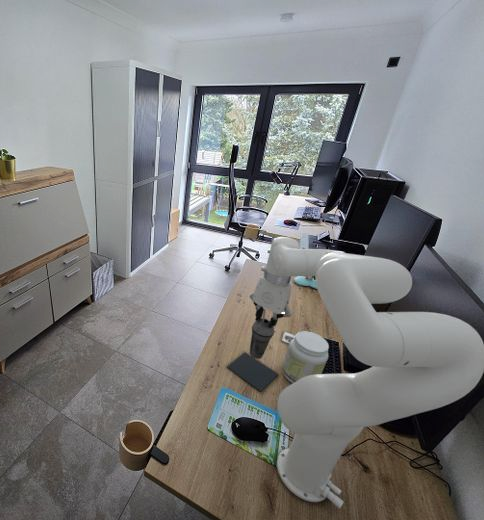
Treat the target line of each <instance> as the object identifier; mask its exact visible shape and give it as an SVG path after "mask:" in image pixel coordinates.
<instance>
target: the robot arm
mask: <svg viewBox="0 0 484 520" xmlns="http://www.w3.org/2000/svg"><path fill="white" fill-rule="evenodd" d="M300 246H301V245H300V242H299V241H297V239H294V238H292V237H289V236H288V237H286V236H278V237H275V238H274V239H273V240H272V241H271V244H270V250H269V254H268V258H267V261H266V266H261V269H260V271H262V272H263V274H261V275H260V277H259V279H258V281H257V284H256V286H255V289H254V292H253V293H252V294H250V295H249V298H250V300H251V301H252V304H253V305H254V307H255V310H256V311H255V316H254V317H255V319H254V320H255V321H258V320H259V319H261V318H263V312H264V309H265V310H268V311H270V312H272V317H271V318H270V320H269V321H270V323H269V326H268V327H269V328H271V327H273V326H274V327H276V326H277V324H278V321H279V319H282V318H290V317H291V316H292V312H291V309H290V307H289V305H290V301H291V295H292V283H291V279H292V277H297V276H303V277H306V276H315V278H316V285H317V289H316V290H317V292H318V295H319V297H320V300H321V301H322V303H323V305H324V307H325V309H326V312H327V313H328V315H329V317H330V319H331V321H332V322H333V324H334V327H335V328H336V330H337V333H338V334H339V336H340V338H341V340H342V342H343V344H344V346H345V347H346V348H347V350H348V351H349V353H350V354H351V355H352V357H353V358H355V359H356V360H357V361H359V362H360V363H362V364H364V365H366V366H370V367H369V368H367V369H364V370H362V371H359V372H355V373H353V372H352V373H322V374H315V375H309V376H306V377H303V378H301V379H300V380H298V381H296V382H295V383H291V384H290V385H288V386H286V387H285V388H283V389H282V390H281V392H280V393H279V395H278V398H277V404H276V408H277V415H278V417H279V420H280V421H281V423H282V425H283V426H284V427H285V428H287V430H288V431H289V432H291V433H293V434H294V437H293V439H292V441H291V443H290V446H289V447H288V448H285V449H283V450H282V451H280V453H279V454H278V456H277V460H276V469H277V473H278V476H279V478H280V480H281V481H282V483H283V484H284V485H285V487H286V488H287V489H288V490H289V491H290V492H291V493H292V494H293V495H294V496H296V497H297V498H300V499H301V500H304V501H306V502H309V503H319V502H322V501H324V500H326V499H328V500H329V501H330V502H331V503H332V504H333V505H335V507H337V508H338V509H341V508H342V506H343V504H344V500H342V499H341V498H340V495H341V493H342V489H340V488H339V487H338V486H337V485H335V484H334V483H333V481H332V480H331V477H332V472H333V470H334V468H335V466H336V465H337V462H338V461H339V459H340V457H341V456H342V454H343V453H344V451H345V449H346V448H347V447H348V445H349V444H350V443H351V442H353V440H355V439H356V438H357V437H358V436H359V435H360V434H361V433H362V431H363V430H364V428H367V427H368V428H369V427H375V426H379V425H383V424H384V423H389V422H392V421H395V420H399V419H404V418H409V417H411V416H414V415H418V414H421V413H425V412H429V411H433V410H436V409H439V408H443V407H445V406H447V405H450V404H452V403H454V402H456V401H458V400H460V399H462V398H463V397H465V396H467V394H469V393H471V391H472V390H474V389H475V387H476V386H477V385H478V383H479V382H480V380H481V379H482V376H483V374H484V341H483V339H482V337H481V335H480V334H479V333H478V331H477V330H476V329H475V328H474V327H473V326H472V325H470V324H469V323H467V322H466V321H464V320H462V319H460V318H457V317H454V316H452V315H449V314H445V313H438V312H432V311H431V312H430V311H378V312H377V311H376V310H375V308H374V307H373V305H378V304H379V305H381V304H390V303H393V302H397V301H399V300H401V299H402V298H404V297H406V296H407V295H408V293H409V292H410V291H411V289H412V286H413V278H412V274H411V272H409V270H408V269H407V268H406V267H405V266H403V265H402V264H401V263H399V262H397V261H395V260H392V259H388V258H384V257H377V256H370V255H361V254H355V253H346V252H345V251H341V250H334V249H328V248H327V249H325V248H301V247H300ZM331 490H332V491H333V492H334V493H333V492H332V491H331Z"/></svg>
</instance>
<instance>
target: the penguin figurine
mask: <svg viewBox="0 0 484 520" xmlns="http://www.w3.org/2000/svg"><path fill="white" fill-rule="evenodd" d="M293 281H294V283H295V284H297V285H299V286H302V287H310V288H313V289H315V290H318V289H317V285H316V276H295V277H294V278H293Z"/></svg>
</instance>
